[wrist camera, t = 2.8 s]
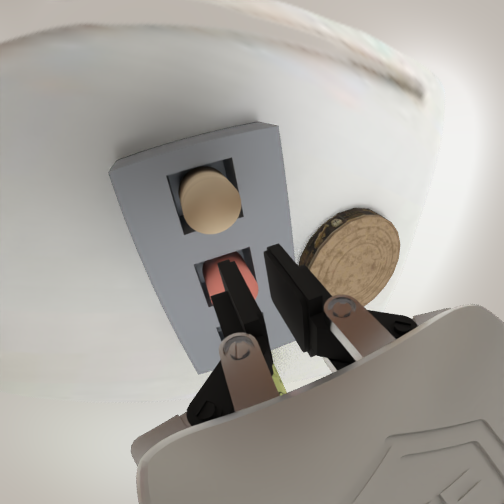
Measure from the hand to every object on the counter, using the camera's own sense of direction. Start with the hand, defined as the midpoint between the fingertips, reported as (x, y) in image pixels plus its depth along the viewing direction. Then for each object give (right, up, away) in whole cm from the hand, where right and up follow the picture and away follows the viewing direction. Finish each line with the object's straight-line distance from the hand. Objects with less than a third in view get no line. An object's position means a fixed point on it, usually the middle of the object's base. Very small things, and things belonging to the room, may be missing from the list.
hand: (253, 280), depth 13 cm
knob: (-4, +7, +12) cm, 14 cm away
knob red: (-3, 0, +16) cm, 16 cm away
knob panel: (-4, +1, +19) cm, 19 cm away
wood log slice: (+13, 0, +26) cm, 29 cm away
